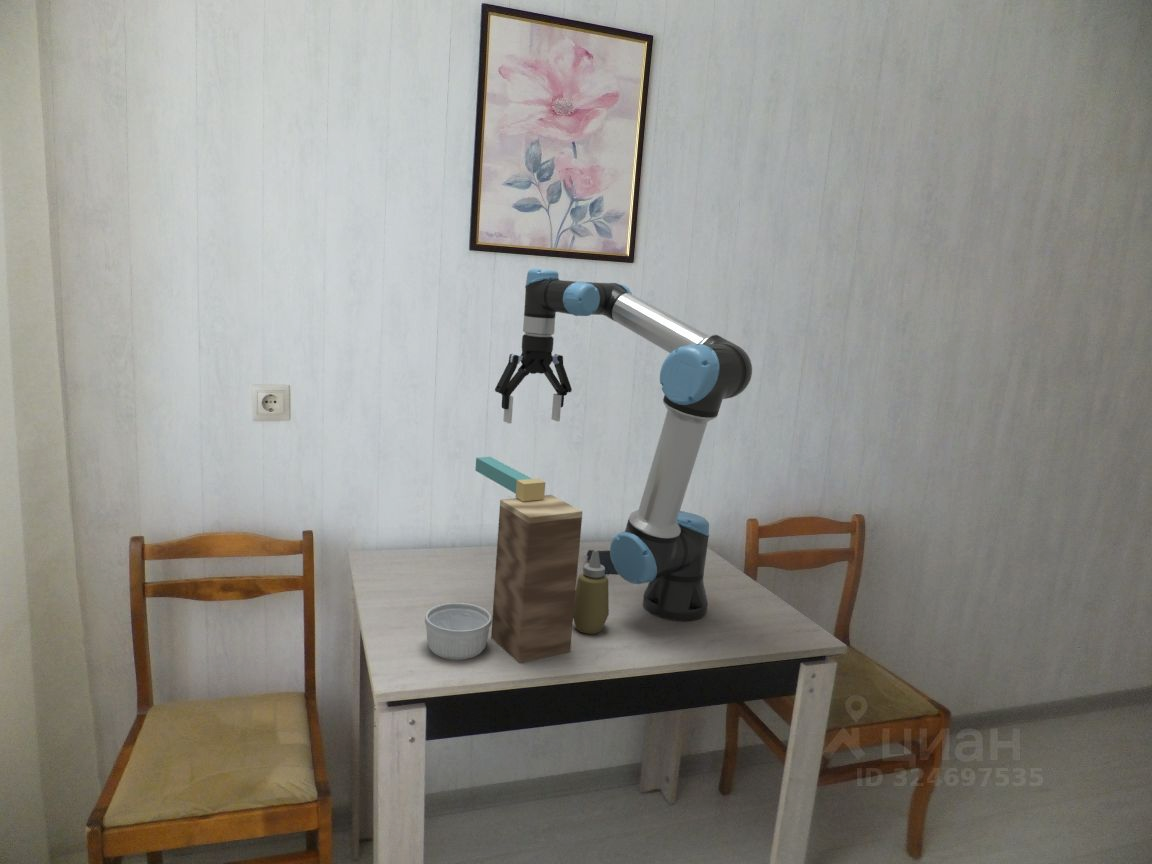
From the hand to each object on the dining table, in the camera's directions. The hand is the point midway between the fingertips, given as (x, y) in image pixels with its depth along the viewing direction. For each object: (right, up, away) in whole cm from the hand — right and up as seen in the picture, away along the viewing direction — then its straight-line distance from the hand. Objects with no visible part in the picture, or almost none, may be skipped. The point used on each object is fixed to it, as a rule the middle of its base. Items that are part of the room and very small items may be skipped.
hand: (531, 421), depth 205 cm
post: (+1, -46, -32) cm, 56 cm away
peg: (-4, -14, -26) cm, 30 cm away
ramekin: (-13, -46, -36) cm, 60 cm away
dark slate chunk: (+25, -39, +19) cm, 49 cm away
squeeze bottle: (+14, -46, -22) cm, 53 cm away
